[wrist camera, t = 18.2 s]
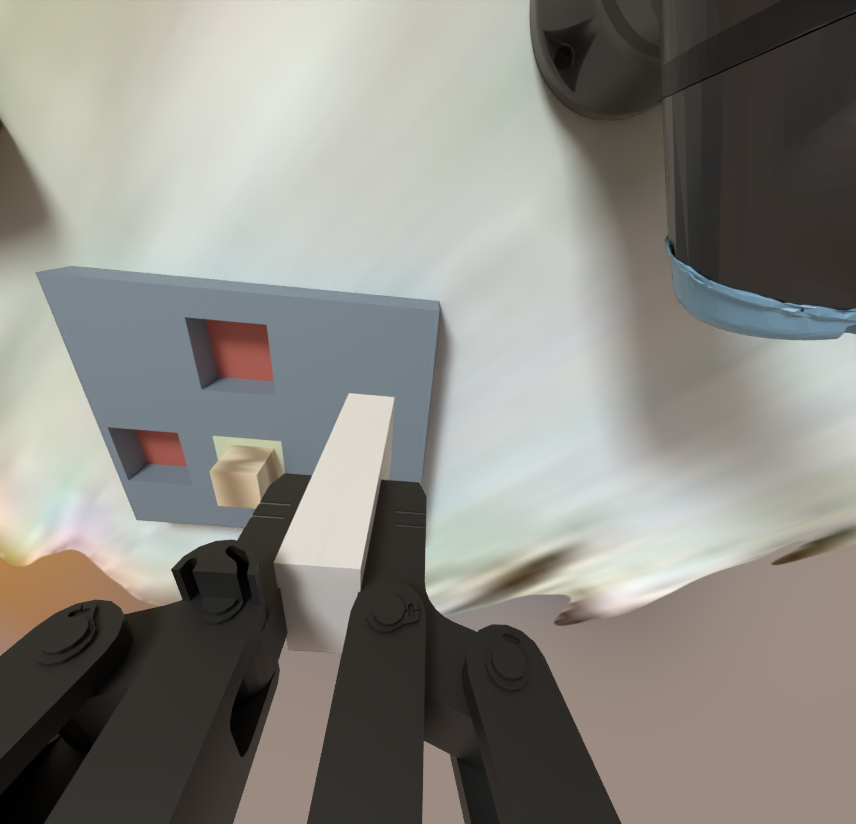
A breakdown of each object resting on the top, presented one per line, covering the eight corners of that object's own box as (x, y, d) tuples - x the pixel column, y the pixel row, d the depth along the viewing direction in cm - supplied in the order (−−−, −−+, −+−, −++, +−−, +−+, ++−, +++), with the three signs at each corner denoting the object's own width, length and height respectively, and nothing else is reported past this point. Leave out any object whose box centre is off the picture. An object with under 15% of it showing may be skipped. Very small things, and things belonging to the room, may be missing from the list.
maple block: (274, 448, 44) (256, 474, 40) (278, 480, 47) (262, 509, 42) (231, 444, 44) (209, 471, 40) (238, 477, 46) (217, 505, 42)
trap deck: (439, 301, 39) (439, 310, 36) (416, 519, 55) (415, 540, 52) (72, 266, 38) (35, 272, 35) (155, 499, 54) (136, 520, 50)
